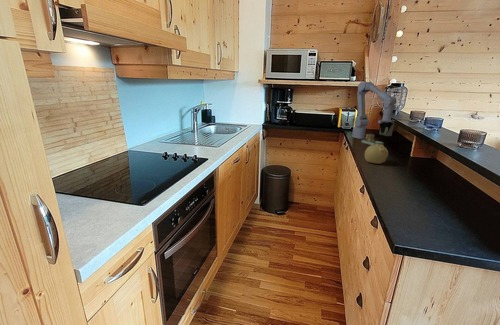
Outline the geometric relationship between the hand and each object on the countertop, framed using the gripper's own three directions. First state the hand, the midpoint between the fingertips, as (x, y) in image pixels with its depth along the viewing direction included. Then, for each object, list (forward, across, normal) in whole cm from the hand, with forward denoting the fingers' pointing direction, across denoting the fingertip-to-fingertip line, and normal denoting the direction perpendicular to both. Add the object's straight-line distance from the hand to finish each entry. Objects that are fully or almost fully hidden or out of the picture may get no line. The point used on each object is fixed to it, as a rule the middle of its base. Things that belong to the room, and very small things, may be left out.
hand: (384, 132), depth 191 cm
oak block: (+8, -8, +5) cm, 12 cm away
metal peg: (+2, 0, 0) cm, 2 cm away
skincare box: (+9, +30, +22) cm, 38 cm away
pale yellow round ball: (+9, -45, -32) cm, 56 cm away
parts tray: (+8, -8, +3) cm, 12 cm away
